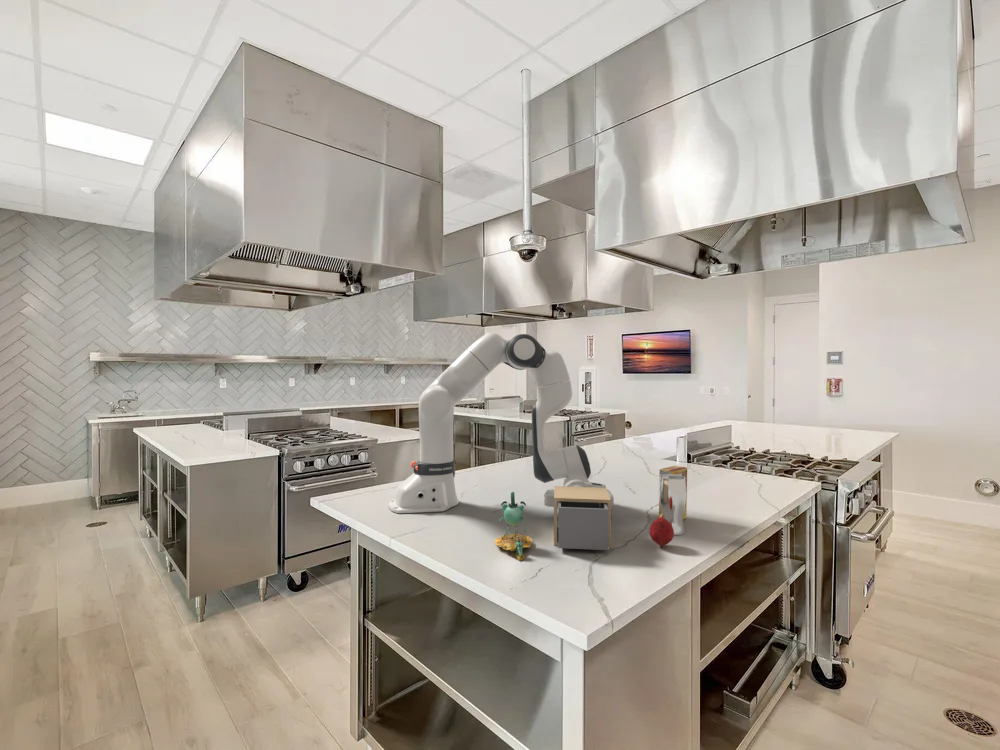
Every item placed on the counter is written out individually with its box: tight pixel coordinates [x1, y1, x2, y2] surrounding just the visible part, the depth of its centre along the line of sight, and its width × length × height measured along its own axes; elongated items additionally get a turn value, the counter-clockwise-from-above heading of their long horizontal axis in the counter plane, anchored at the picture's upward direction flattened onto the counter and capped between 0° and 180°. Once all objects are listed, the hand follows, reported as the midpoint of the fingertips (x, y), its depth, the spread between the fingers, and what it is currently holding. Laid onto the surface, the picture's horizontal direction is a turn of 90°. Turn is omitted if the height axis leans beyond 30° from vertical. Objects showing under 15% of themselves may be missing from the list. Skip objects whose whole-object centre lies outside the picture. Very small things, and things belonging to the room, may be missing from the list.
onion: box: [648, 514, 675, 547], centre depth 117 cm, size 6×6×8 cm
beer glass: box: [658, 474, 686, 536], centre depth 128 cm, size 7×7×15 cm
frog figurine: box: [494, 491, 533, 561], centre depth 118 cm, size 10×18×15 cm, turn 175°
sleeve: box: [553, 485, 612, 549], centre depth 123 cm, size 12×14×12 cm
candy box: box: [658, 465, 688, 520], centre depth 138 cm, size 9×4×15 cm, turn 129°
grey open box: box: [557, 501, 609, 551], centre depth 123 cm, size 20×12×10 cm, turn 173°
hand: (579, 506), depth 133 cm, fingers closed, pressing on grey open box
